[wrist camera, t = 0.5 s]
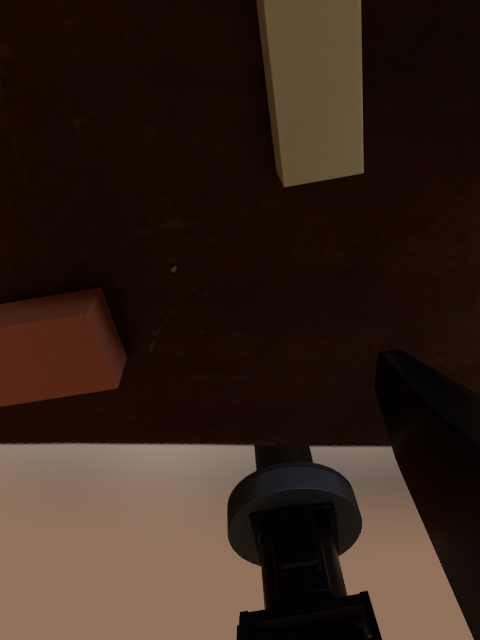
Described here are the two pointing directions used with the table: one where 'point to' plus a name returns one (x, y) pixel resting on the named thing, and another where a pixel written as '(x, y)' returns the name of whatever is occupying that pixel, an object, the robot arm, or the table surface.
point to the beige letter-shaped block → (313, 87)
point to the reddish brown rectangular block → (58, 347)
